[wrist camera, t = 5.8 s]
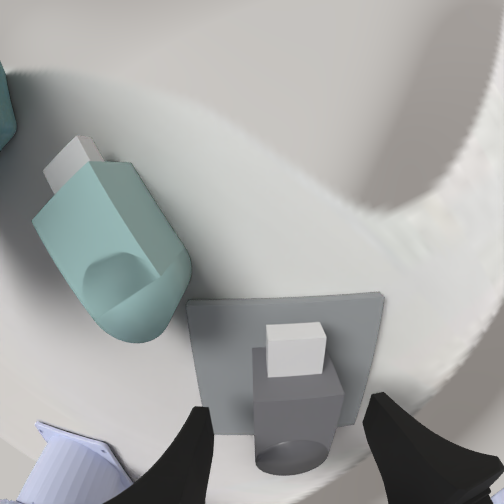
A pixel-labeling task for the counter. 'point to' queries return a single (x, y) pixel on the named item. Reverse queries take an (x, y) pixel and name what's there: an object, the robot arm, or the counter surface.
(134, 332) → the teal plug
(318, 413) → the white-capped grey post
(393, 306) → the counter surface
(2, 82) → the flower pot
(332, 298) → the coaster
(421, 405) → the counter surface
